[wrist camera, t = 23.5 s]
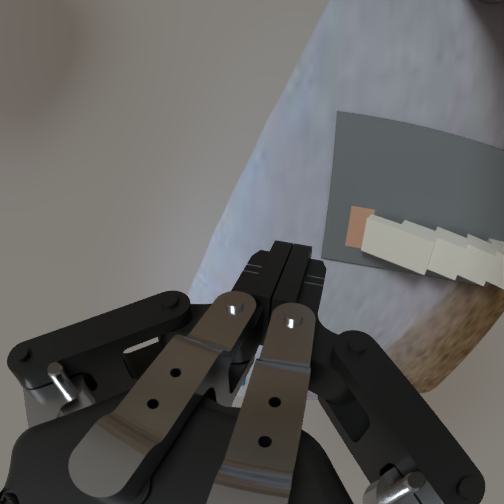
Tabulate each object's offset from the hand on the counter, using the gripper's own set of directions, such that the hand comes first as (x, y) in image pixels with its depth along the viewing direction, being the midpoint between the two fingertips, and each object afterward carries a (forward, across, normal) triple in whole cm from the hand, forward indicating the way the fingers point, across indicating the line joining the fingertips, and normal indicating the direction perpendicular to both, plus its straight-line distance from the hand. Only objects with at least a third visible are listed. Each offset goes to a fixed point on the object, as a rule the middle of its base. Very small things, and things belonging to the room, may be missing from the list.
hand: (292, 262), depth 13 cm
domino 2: (+29, -11, +12) cm, 34 cm away
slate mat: (+31, -15, +7) cm, 35 cm away
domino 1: (+29, -6, +12) cm, 32 cm away
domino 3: (+29, -16, +12) cm, 36 cm away
